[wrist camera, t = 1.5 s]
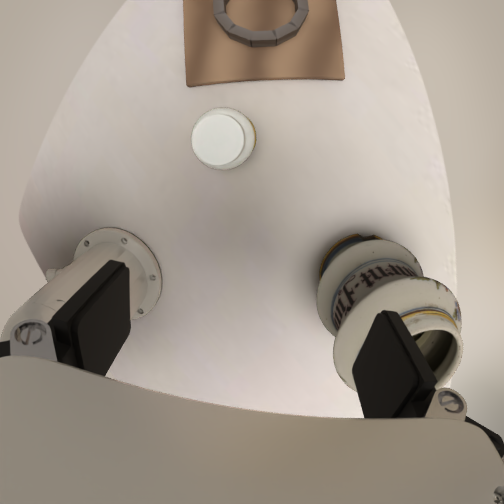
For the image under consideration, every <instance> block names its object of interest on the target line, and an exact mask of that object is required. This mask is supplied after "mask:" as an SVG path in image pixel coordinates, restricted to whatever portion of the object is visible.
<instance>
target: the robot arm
mask: <svg viewBox="0 0 504 504" xmlns="http://www.w3.org/2000/svg"><path fill="white" fill-rule="evenodd" d="M126 239H127V240H126ZM153 274H154V275H155V276H154V275H153ZM46 280H47V282H48V283H47V284H46V285H45V286H44V287H42V288H41V289H40V290H39V291H38V292H37V293H35V294H34V295H33V296H32V297H31V298H30V299H29V300H28V301H27V302H25V303H24V304H23V305H22V306H21V307H20V308H19V309H18V310H17V311H16V312H15V313H14V314H13V315H12V316H11V317H10V318H9V320H8V321H7V323H6V325H5V327H4V329H3V332H2V335H1V339H0V504H504V443H503V441H502V438H501V437H500V436H499V435H498V434H496V433H494V432H492V431H491V430H489V429H487V428H486V427H484V426H482V425H481V424H479V423H477V422H476V421H474V420H472V419H470V418H469V417H467V416H466V413H467V404H466V402H465V400H464V398H463V397H462V396H461V395H460V394H459V393H458V392H456V391H454V390H452V389H450V388H440V389H438V390H436V388H435V385H436V384H437V382H438V381H437V379H436V377H435V375H434V373H433V372H432V370H431V368H430V366H429V364H428V363H427V361H426V359H425V357H424V356H423V354H422V352H421V350H420V349H419V347H418V345H417V344H416V342H415V340H414V338H413V337H412V335H411V333H410V332H409V330H408V328H407V327H406V325H405V324H404V322H403V320H402V319H401V317H400V315H399V314H398V313H397V312H395V311H388V310H382V311H381V313H378V314H377V315H376V316H375V319H374V321H373V323H372V326H371V328H370V330H369V332H368V335H367V337H366V339H365V341H364V343H363V345H362V347H361V350H360V352H359V354H358V356H357V358H356V360H355V362H354V364H353V367H352V375H353V379H354V382H355V386H356V389H357V393H358V396H359V400H360V403H361V407H362V411H363V414H364V418H333V417H316V416H303V415H292V414H282V413H273V412H265V411H257V410H250V409H243V408H236V407H230V406H224V405H219V404H213V403H208V402H203V401H198V400H193V399H188V398H183V397H179V396H174V395H170V394H166V393H162V392H158V391H154V390H150V389H146V388H142V387H139V386H135V385H132V384H128V383H125V382H121V381H118V380H115V379H111V378H108V377H105V375H106V373H107V371H108V370H109V368H110V366H111V364H112V363H113V361H114V359H115V358H116V356H117V354H118V352H119V351H120V349H121V347H122V346H123V344H124V342H125V341H126V339H127V337H128V335H129V333H130V328H131V322H130V321H131V320H134V319H137V318H140V317H142V316H144V315H146V314H147V313H148V312H150V311H151V310H152V308H153V307H154V306H155V304H156V302H157V300H158V298H159V296H160V292H161V286H162V279H161V272H160V269H159V266H158V263H157V261H156V259H155V257H154V256H153V254H152V252H151V251H150V250H149V249H148V247H147V246H146V245H145V244H144V243H143V242H142V241H141V240H140V239H138V238H137V237H135V236H134V235H132V234H131V233H128V232H126V231H124V230H121V229H116V228H102V229H98V230H95V231H93V232H91V233H90V234H88V235H87V236H86V237H84V238H83V239H82V240H81V242H80V243H79V244H78V246H77V248H76V250H75V254H74V258H73V262H72V263H71V264H70V265H69V266H65V267H64V268H63V269H48V270H47V271H46Z"/></svg>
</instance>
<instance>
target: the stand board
mask: <svg viewBox="0 0 504 504" xmlns="http://www.w3.org/2000/svg"><path fill="white" fill-rule="evenodd" d="M183 11H184V44H185V67H186V85H187V86H188V87H194V86H202V85H210V84H219V83H229V82H241V81H257V80H282V79H321V80H343V79H345V73H344V62H343V52H342V42H341V34H340V26H339V18H338V11H337V4H336V0H183Z"/></svg>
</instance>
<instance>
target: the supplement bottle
mask: <svg viewBox="0 0 504 504" xmlns="http://www.w3.org/2000/svg"><path fill="white" fill-rule="evenodd" d="M191 144H192V148H193V151H194V153H195V155H196V157H197V158H198V159H199V160H200V161H201V162H202V163H203V164H205V165H206V166H208V167H210V168H213V169H218V170H227V169H232V168H235V167H237V166H239V165H240V164H242V163H243V162H244V161H245V160H246V159H247V158H248V157H249V156H250V154H251V152H252V151H253V149H254V147H255V144H256V131H255V128H254V126H253V124H252V122H251V121H250V120H249V119H248V118H247V117H246V116H245V115H243V114H242V113H241V112H239V111H237V110H234V109H231V108H216V109H213V110H210V111H208V112H206V113H205V114H203V115H202V116H201V117H200V118H199V119H198V120H197V122H196V123H195V125H194V127H193V130H192V134H191Z"/></svg>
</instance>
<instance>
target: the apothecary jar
mask: <svg viewBox="0 0 504 504" xmlns="http://www.w3.org/2000/svg"><path fill="white" fill-rule="evenodd" d="M317 310H318V314H319V317H320V319H321V321H322V323H323V325H324V326H325V327H326V329H327V330H328V331H329V332H330V333H331V334H332V335H334V336H335V341H334V347H333V359H334V365H335V368H336V371H337V373H338V375H339V376H340V378H341V379H342V380H343V382H344V383H345V384H346V385H347V386H348V387H350V388H351V389H353V390H354V391H356V392H357V389H356V386H355V382H354V379H353V375H352V367H353V364H354V362H355V360H356V358H357V356H358V354H359V352H360V350H361V347H362V345H363V343H364V341H365V339H366V337H367V335H368V332H369V330H370V328H371V326H372V323H373V321H374V319H375V316H376V315H377V314H378V313H381V311H382V310H388V311H395V312H397V313H398V314H399V315H400V317H401V319H402V320H403V322H404V324H405V325H406V327H407V328H408V330H409V332H410V333H411V335H412V337H413V338H414V340H415V342H416V344H417V345H418V347H419V349H420V350H421V352H422V354H423V356H424V357H425V359H426V361H427V363H428V364H429V366H430V368H431V370H432V372H433V373H434V375H435V377H436V379H437V381H438V382H437V384H436V385H435V388H436V390H438V389H440V388H442V387H443V386H444V385H445V384H446V383H447V382H448V381H449V380H450V378H451V377H452V376H453V374H454V373H455V371H456V370H457V368H458V366H459V364H460V362H461V358H462V353H463V342H462V338H461V335H460V333H461V324H462V321H461V312H460V307H459V304H458V302H457V300H456V298H455V296H454V295H453V293H452V292H451V291H450V290H449V289H448V288H447V287H446V286H445V285H443V284H442V283H440V282H438V281H436V280H434V279H430V278H427V277H424V276H423V272H422V269H421V266H420V264H419V262H418V261H417V259H416V258H415V256H414V255H413V254H412V253H411V252H410V251H409V250H407V249H406V248H405V247H403V246H401V245H400V244H398V243H395V242H392V241H388V240H383V239H382V238H380V237H378V236H375V235H372V236H368V237H361V236H360V235H359V234H355V235H351V236H348V237H346V238H343V239H341V240H340V241H338V242H337V243H336V244H335V245H334V246H333V247H332V248H331V249H330V250H329V251H328V252H327V254H326V255H325V257H324V259H323V261H322V264H321V267H320V283H319V286H318V290H317Z"/></svg>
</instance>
